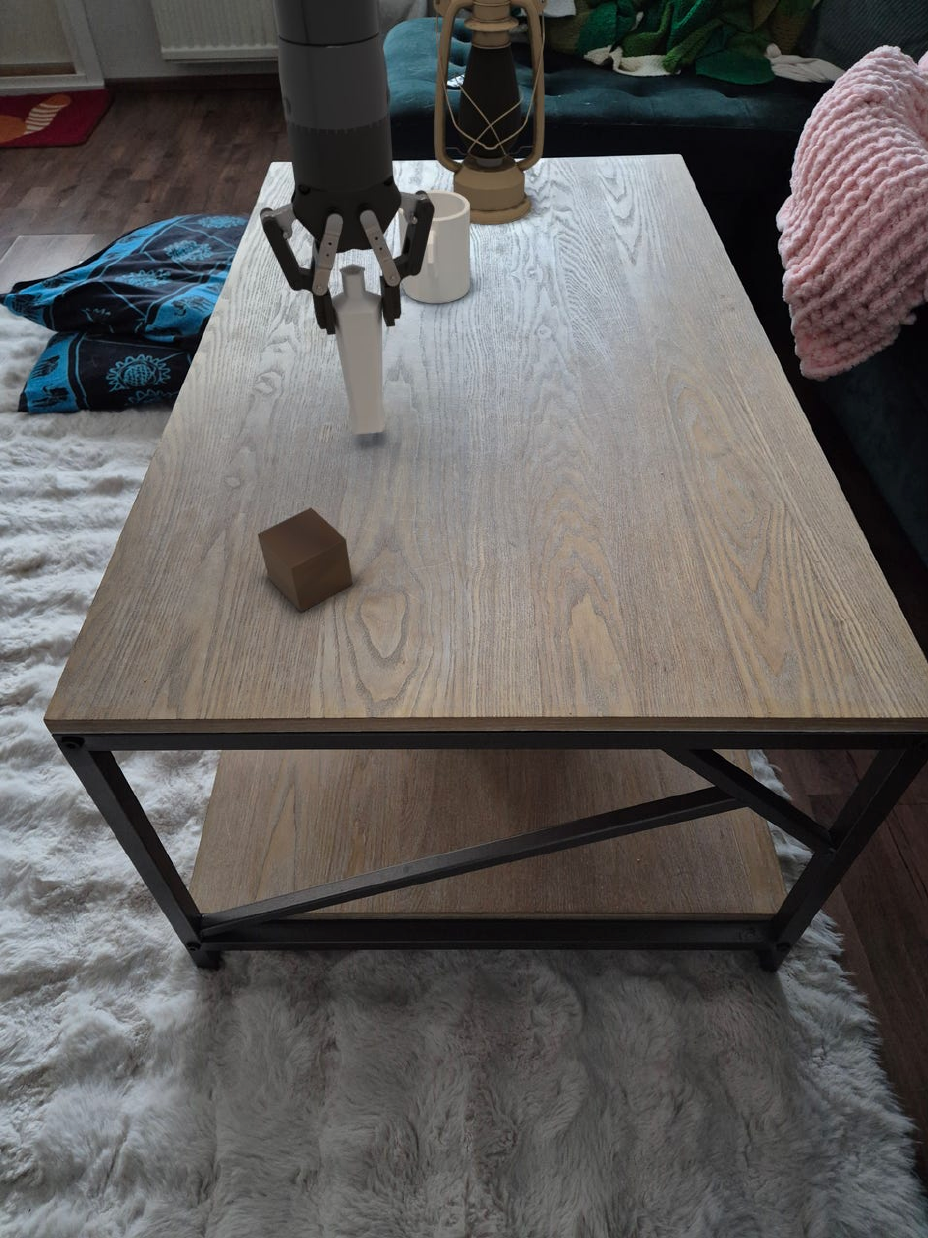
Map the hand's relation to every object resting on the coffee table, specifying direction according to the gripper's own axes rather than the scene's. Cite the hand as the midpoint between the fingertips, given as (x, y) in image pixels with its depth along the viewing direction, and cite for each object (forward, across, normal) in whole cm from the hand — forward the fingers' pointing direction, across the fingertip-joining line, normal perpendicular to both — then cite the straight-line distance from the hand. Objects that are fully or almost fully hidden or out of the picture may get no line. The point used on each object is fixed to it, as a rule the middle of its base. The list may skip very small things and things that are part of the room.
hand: (359, 325), depth 74 cm
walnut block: (+12, +8, +18) cm, 23 cm away
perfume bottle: (+11, 0, 0) cm, 11 cm away
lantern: (+12, -26, -50) cm, 57 cm away
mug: (+12, -13, -26) cm, 32 cm away
